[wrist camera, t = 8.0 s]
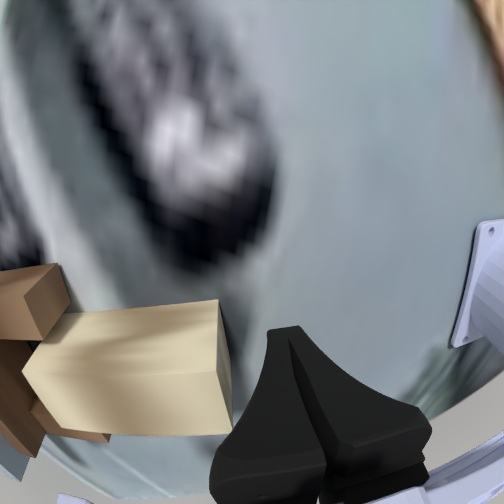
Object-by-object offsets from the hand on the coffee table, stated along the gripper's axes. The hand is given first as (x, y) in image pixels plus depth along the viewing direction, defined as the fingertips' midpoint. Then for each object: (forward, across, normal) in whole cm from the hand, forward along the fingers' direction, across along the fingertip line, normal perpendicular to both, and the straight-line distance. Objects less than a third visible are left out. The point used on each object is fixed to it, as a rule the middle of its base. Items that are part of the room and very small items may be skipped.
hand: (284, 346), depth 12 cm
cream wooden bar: (+2, +6, 0) cm, 7 cm away
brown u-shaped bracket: (+1, +12, 0) cm, 12 cm away
